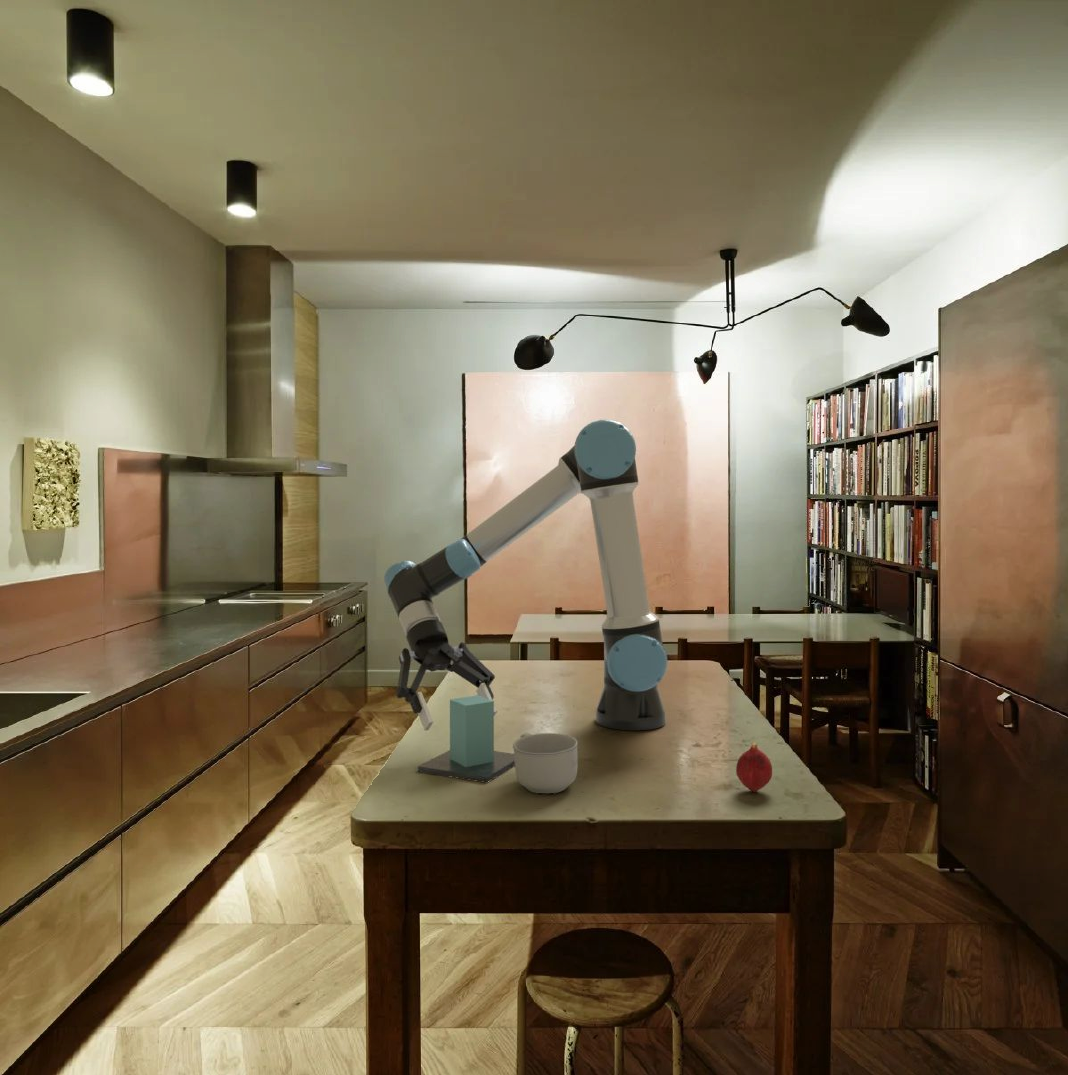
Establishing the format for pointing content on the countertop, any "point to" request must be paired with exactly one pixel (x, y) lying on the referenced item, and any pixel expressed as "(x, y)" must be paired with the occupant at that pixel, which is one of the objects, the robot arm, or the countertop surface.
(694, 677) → the countertop surface
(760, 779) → the onion
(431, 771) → the gray square peg stand
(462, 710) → the teal upright box
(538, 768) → the teacup
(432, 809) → the countertop surface
